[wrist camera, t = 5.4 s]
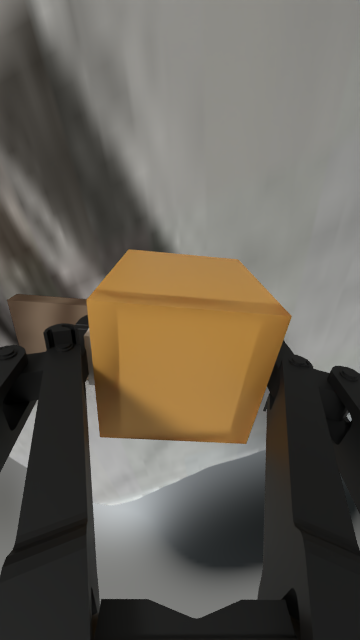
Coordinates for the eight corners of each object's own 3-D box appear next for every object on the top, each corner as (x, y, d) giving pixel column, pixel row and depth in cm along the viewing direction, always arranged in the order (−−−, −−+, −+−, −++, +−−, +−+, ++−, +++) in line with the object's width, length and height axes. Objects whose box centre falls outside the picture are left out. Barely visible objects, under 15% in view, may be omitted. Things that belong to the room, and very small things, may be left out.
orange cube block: (238, 259, 15) (291, 316, 8) (219, 348, 19) (246, 443, 11) (128, 249, 15) (86, 299, 8) (129, 342, 18) (100, 437, 11)
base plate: (126, 302, 31) (123, 308, 30) (127, 372, 37) (124, 381, 35) (16, 294, 30) (7, 300, 29) (34, 367, 36) (27, 376, 34)
